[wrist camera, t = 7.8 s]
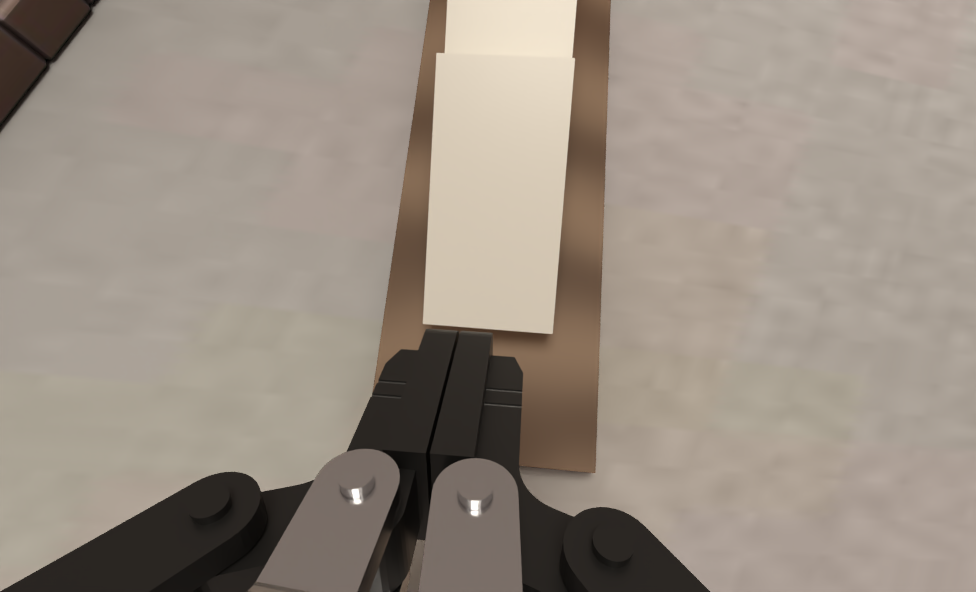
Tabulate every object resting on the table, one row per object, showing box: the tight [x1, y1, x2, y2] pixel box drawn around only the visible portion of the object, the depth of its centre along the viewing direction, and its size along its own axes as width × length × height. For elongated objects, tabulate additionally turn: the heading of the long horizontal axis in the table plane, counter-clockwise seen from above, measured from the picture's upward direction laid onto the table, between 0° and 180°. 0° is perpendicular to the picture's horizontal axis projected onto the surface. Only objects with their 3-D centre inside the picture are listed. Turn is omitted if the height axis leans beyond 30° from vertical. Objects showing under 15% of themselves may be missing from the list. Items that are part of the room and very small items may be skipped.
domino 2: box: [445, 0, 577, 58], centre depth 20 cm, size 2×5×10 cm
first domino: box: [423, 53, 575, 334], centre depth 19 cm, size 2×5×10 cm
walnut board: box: [373, 0, 611, 473], centre depth 23 cm, size 28×9×1 cm, turn 175°
